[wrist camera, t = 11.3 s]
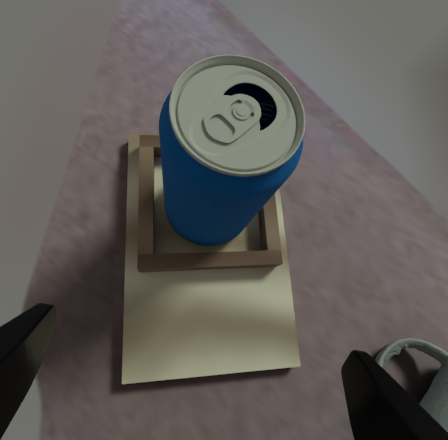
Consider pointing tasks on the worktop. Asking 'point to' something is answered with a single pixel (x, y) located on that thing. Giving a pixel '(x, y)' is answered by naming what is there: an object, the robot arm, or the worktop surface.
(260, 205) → the beverage can
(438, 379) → the ceramic mug
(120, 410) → the worktop surface
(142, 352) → the can holder
